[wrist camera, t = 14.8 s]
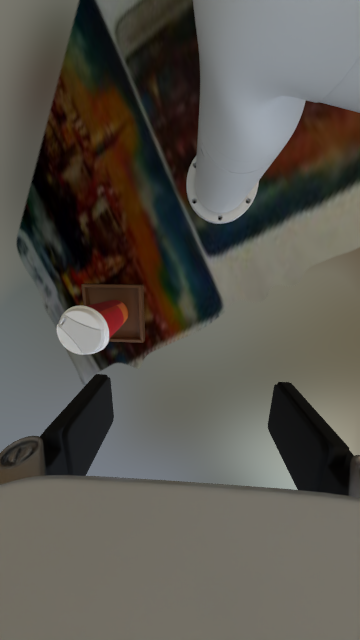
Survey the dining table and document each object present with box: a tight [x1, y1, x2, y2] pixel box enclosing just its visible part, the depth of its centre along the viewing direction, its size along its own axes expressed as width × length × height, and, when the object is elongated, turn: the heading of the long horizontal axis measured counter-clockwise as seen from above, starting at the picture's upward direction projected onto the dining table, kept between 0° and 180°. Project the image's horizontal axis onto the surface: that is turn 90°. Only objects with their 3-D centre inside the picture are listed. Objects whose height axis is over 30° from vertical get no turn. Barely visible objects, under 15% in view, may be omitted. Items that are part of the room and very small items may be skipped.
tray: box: [81, 284, 145, 343], centre depth 40 cm, size 12×12×2 cm
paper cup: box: [57, 300, 128, 355], centre depth 34 cm, size 8×8×14 cm
